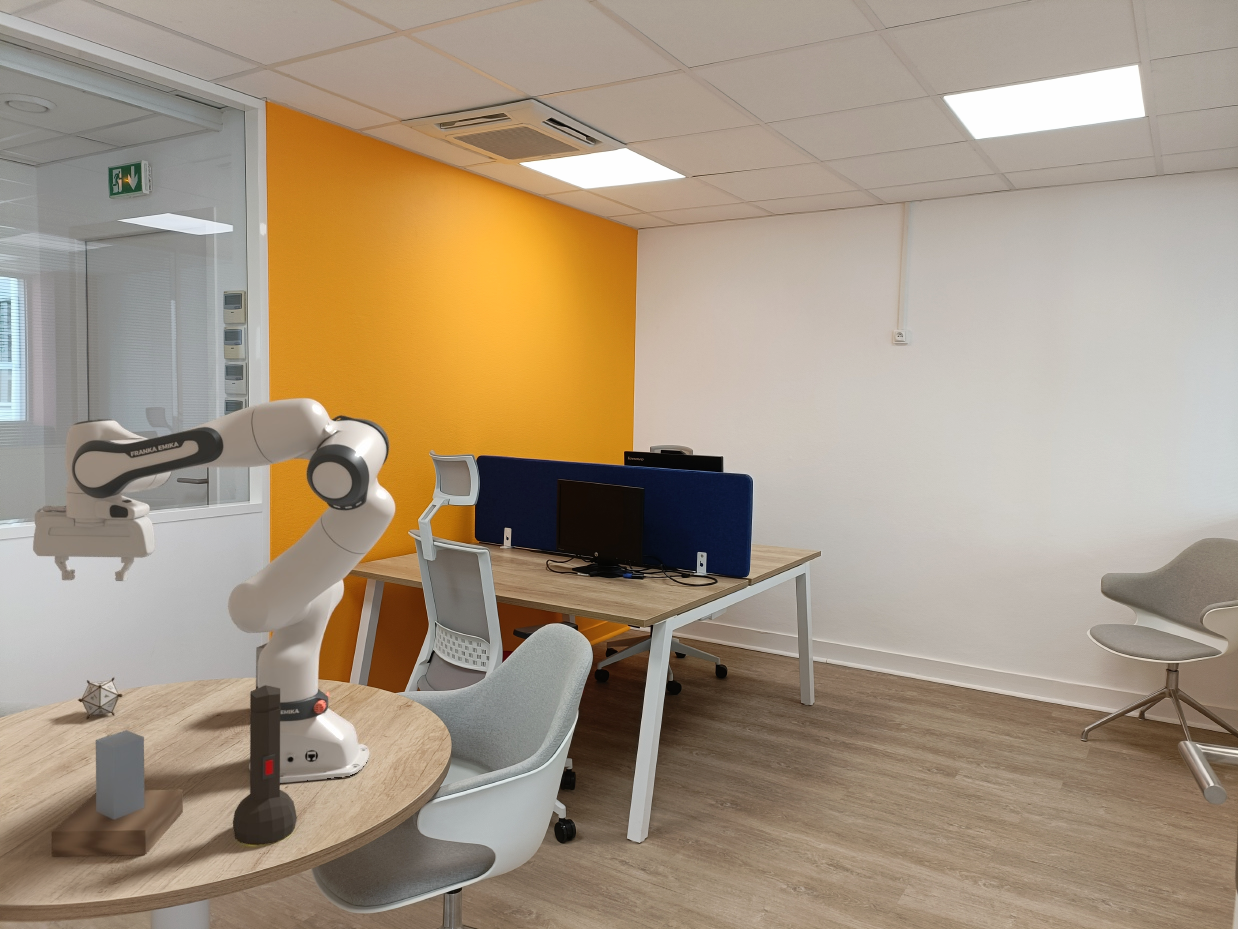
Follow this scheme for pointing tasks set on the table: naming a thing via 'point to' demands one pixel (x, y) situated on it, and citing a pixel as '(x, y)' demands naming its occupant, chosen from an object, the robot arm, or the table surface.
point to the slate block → (119, 774)
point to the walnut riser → (117, 827)
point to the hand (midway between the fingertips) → (95, 580)
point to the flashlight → (264, 777)
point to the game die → (100, 698)
